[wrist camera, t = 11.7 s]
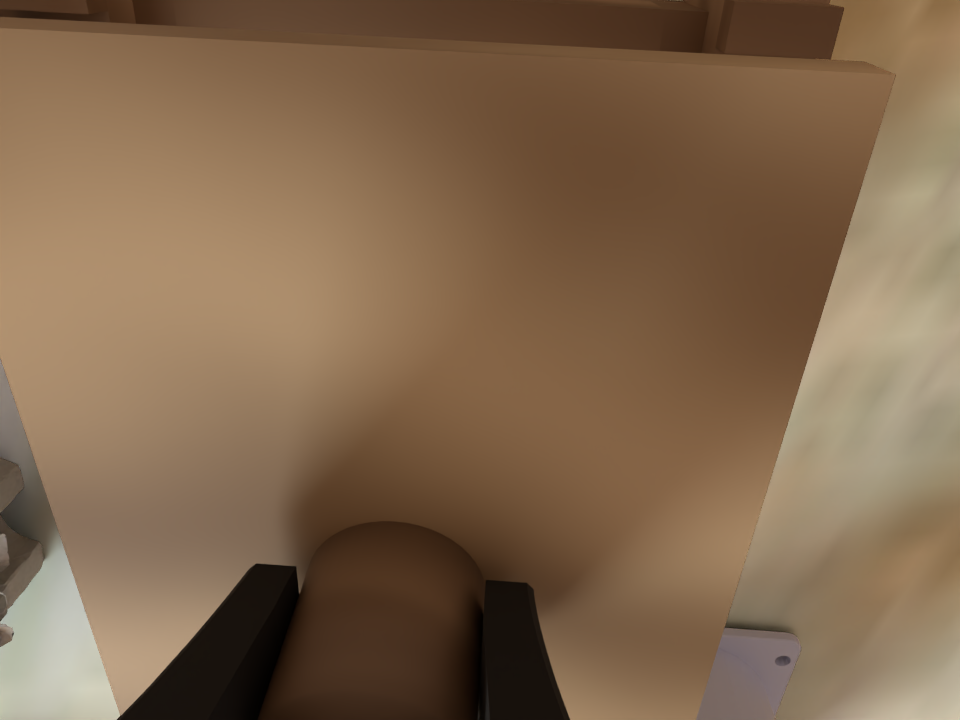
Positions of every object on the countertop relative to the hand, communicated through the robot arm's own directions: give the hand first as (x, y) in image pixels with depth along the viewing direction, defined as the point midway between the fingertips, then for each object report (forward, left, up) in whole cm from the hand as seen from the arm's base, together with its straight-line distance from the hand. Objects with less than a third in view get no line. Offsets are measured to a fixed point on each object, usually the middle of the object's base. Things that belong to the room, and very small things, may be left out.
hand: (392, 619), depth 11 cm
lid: (0, 0, -1) cm, 1 cm away
